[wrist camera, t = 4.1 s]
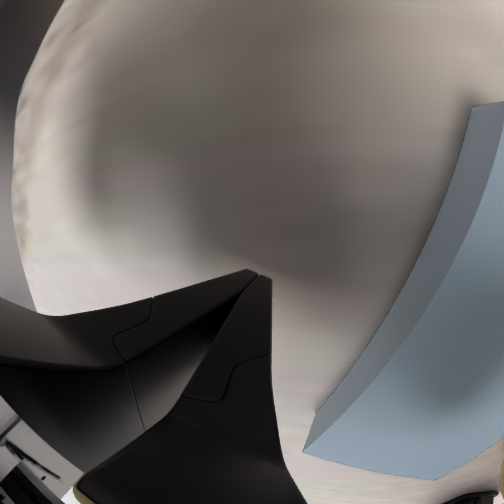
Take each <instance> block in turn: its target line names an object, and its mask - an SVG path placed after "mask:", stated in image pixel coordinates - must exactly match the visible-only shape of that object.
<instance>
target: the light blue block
mask: <svg viewBox="0 0 504 504" xmlns="http://www.w3.org/2000/svg"><path fill="white" fill-rule="evenodd" d="M500 439H504V102H498V103H492V104H486V105H481V106H475V107H472V108H471V113H470V117H469V122H468V126H467V130H466V134H465V137H464V141H463V145H462V148H461V151H460V155H459V158H458V161H457V164H456V167H455V171H454V174H453V176H452V179H451V182H450V185H449V188H448V190H447V193H446V196H445V198H444V201H443V204H442V206H441V209H440V211H439V214H438V216H437V218H436V221H435V223H434V225H433V228H432V230H431V232H430V234H429V237H428V239H427V241H426V243H425V245H424V247H423V250H422V252H421V254H420V256H419V258H418V260H417V262H416V264H415V266H414V268H413V270H412V272H411V273H410V275H409V277H408V279H407V281H406V283H405V285H404V287H403V288H402V290H401V292H400V294H399V295H398V297H397V299H396V301H395V302H394V304H393V306H392V308H391V309H390V311H389V313H388V314H387V316H386V317H385V319H384V321H383V322H382V324H381V325H380V327H379V329H378V330H377V332H376V333H375V335H374V336H373V338H372V339H371V341H370V342H369V344H368V345H367V347H366V348H365V350H364V351H363V353H362V354H361V356H360V357H359V358H358V360H357V361H356V363H355V364H354V365H353V367H352V368H351V369H350V371H349V372H348V374H347V375H346V376H345V378H344V379H343V380H342V381H341V383H340V384H339V385H338V387H337V388H336V389H335V390H334V392H333V393H332V394H331V395H330V397H329V398H328V399H327V400H326V402H325V403H324V404H323V405H322V406H321V408H320V409H319V410H318V411H317V412H316V414H315V417H314V420H313V423H312V426H311V429H310V432H309V435H308V437H307V440H306V443H305V446H304V448H303V451H302V452H303V453H306V454H309V455H312V456H315V457H318V458H322V459H325V460H328V461H332V462H335V463H339V464H343V465H347V466H351V467H355V468H359V469H364V470H368V471H373V472H378V473H384V474H389V475H395V476H402V477H409V478H417V479H427V480H437V479H439V478H440V477H442V476H444V475H446V474H448V473H450V472H451V471H453V470H455V469H457V468H458V467H460V466H462V465H463V464H465V463H467V462H468V461H470V460H471V459H473V458H474V457H476V456H478V455H479V454H480V453H482V452H483V451H485V450H486V449H488V448H489V447H491V446H492V445H493V444H495V443H496V442H497V441H499V440H500Z"/></svg>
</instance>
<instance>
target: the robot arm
mask: <svg viewBox="0 0 504 504" xmlns="http://www.w3.org/2000/svg"><path fill="white" fill-rule="evenodd" d="M271 354H272V279H271V278H269V277H266V276H263V275H259V274H258V273H256V272H254V271H251V270H249V269H244V270H241V271H238V272H234V273H231V274H228V275H224V276H221V277H218V278H215V279H211V280H208V281H205V282H201V283H198V284H194V285H191V286H188V287H184V288H181V289H178V290H174V291H171V292H167V293H164V294H161V295H157V296H154V297H153V298H152V297H150V298H146V299H143V300H139V301H136V302H132V303H128V304H124V305H119V306H115V307H110V308H105V309H99V310H94V311H88V312H82V313H77V314H71V315H64V316H49V315H44V314H40V313H37V312H34V311H32V310H30V309H27V308H25V307H22V306H19V305H17V304H15V303H12V302H10V301H8V300H6V299H3V298H1V297H0V504H65V503H64V502H63V501H61V498H62V497H63V496H64V495H65V494H66V493H67V492H68V491H69V489H70V488H71V487H72V486H73V485H74V484H75V483H76V482H77V481H78V479H79V478H80V477H81V476H82V475H83V474H84V473H85V475H84V476H83V477H82V478H81V479H80V480H79V481H78V483H77V484H76V488H77V489H78V490H79V491H80V492H81V493H82V494H83V495H85V496H86V497H87V498H88V499H90V500H91V501H92V502H93V503H95V504H307V502H306V500H305V499H304V497H303V495H302V494H301V492H300V490H299V489H298V487H297V485H296V484H295V482H294V480H293V478H292V477H291V475H290V473H289V471H288V469H287V467H286V465H285V461H284V458H283V454H282V450H281V445H280V439H279V432H278V425H277V419H276V412H275V406H274V398H273V389H272V369H271V364H272V356H271ZM497 495H499V491H497V492H490V493H480V494H469V495H465V496H462V497H460V498H458V499H456V500H453V501H451V502H449V503H446V504H493V498H494V497H495V496H497Z"/></svg>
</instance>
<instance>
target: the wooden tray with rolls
mask: <svg viewBox="0 0 504 504" xmlns="http://www.w3.org/2000/svg"><path fill="white" fill-rule="evenodd" d="M500 489H501V493H502V496H503V498H504V460H503V462H502V465H501V470H500Z"/></svg>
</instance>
